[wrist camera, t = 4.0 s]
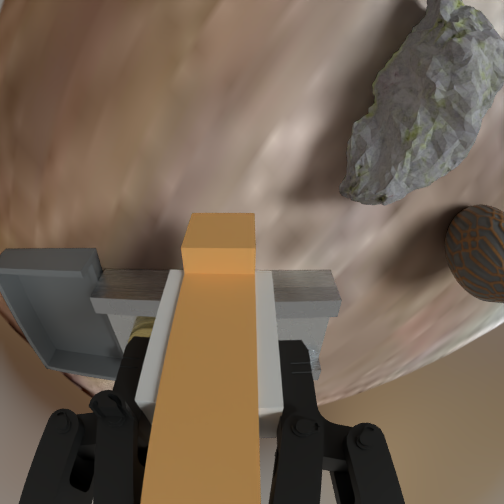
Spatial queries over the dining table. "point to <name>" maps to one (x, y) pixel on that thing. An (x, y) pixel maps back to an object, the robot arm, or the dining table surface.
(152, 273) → the slot rail
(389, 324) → the dining table surface
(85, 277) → the tray
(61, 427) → the robot arm
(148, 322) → the gold domed disc
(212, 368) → the orange l-shaped bar
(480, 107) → the mineral specimen
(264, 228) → the dining table surface
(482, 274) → the vase
